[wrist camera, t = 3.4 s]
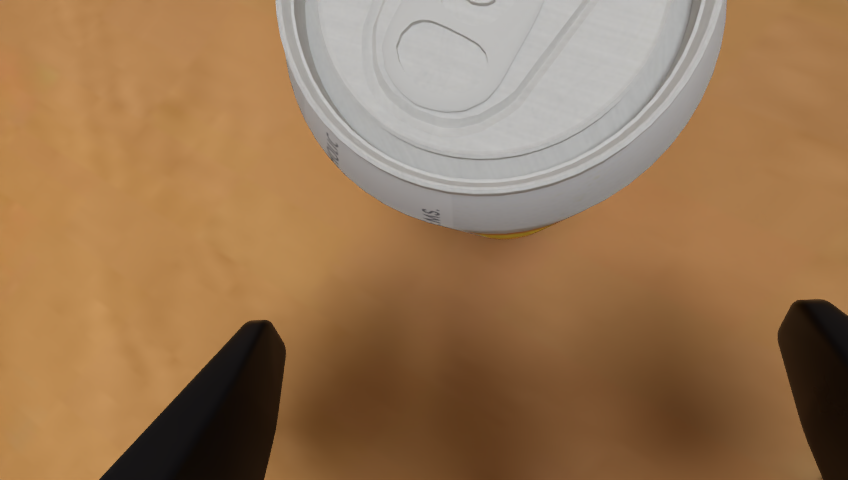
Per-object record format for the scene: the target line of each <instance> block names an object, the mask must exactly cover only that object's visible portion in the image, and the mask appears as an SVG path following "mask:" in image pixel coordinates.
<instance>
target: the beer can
mask: <svg viewBox="0 0 848 480" xmlns="http://www.w3.org/2000/svg"><path fill="white" fill-rule="evenodd" d="M726 2H727V0H276V13H277V19H278V25H279V31H280V37H281V40H282V44H283V47H284V51H285V55H286V61H287V67H288V73H289V77H290V81H291V84H292V87H293V91H294V94H295V98H296V100H297V103H298V105H299V107H300V110H301V112H302V114H303V117H304V119H305V121H306V123H307V124H308V126H309V128H310V130H311V131H312V133H313V135H314V137H315V139H316V140H317V142H318V143H319V144H320V146H321V147H322V148H323V150H324V151H325V152H326V154H327V155H328V156H329V158H330V159H331V160H332V161H333V162H334V163H335V164H336V165H337V166H338V168H339V169H340V170H341V171H342V172H343V173H344V174H345V175H346V176H347V177H348V178H350V179H351V180H352V181H353V182H354V183H355V184H357V185H358V186H359V187H360V188H361V189H363V190H364V191H365V192H367V193H368V194H370V195H371V196H373V197H374V198H376V199H378V200H379V201H381V202H382V203H384V204H385V205H387V206H390V207H392V208H394V209H396V210H398V211H400V212H402V213H404V214H406V215H408V216H411V217H414V218H417V219H420V220H423V221H425V222H428V223H432V224H436V225H440V226H444V227H448V228H452V229H456V230H459V231H463V232H467V233H471V234H475V235H479V236H483V237H488V238H494V239H514V238H520V237H524V236H528V235H531V234H533V233H536V232H538V231H541V230H543V229H545V228H547V227H549V226H551V225H554V224H556V223H558V222H560V221H562V220H564V219H567V218H569V217H571V216H573V215H575V214H577V213H580V212H582V211H584V210H586V209H588V208H590V207H592V206H594V205H596V204H598V203H600V202H602V201H604V200H606V199H607V198H609V197H610V196H612V195H613V194H615V193H616V192H618V191H619V190H621V189H622V188H624V187H626V186H627V185H629V184H630V183H631V182H632V181H633V180H635V179H636V178H637V177H638V176H640V175H641V174H642V173H643V172H644V171H646V170H647V169H648V168H649V167H650V166H651V165H652V164H653V163H654V162H655V161H656V160H657V159H658V158H659V157H660V156H661V155H662V154H663V153H664V152H665V151H666V150H667V149H668V148H669V147H670V145H671V144H672V143H673V141H674V140H675V139H676V138H677V136H678V135H679V134H680V132H681V131H682V130H683V128H684V127H685V126H686V124H687V123H688V121H689V120H690V118H691V116H692V114H693V113H694V111H695V109H696V108H697V106H698V104H699V103H700V101H701V99H702V97H703V95H704V92H705V90H706V88H707V86H708V83H709V81H710V79H711V77H712V74H713V71H714V68H715V65H716V61H717V58H718V55H719V52H720V48H721V43H722V38H723V32H724V26H725V21H726Z"/></svg>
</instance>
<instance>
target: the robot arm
mask: <svg viewBox="0 0 848 480" xmlns="http://www.w3.org/2000/svg"><path fill="white" fill-rule="evenodd" d="M778 343H779V347H780V351H781V354H782V358H783V361H784V365H785V368H786V372H787V376H788V379H789V383H790V386H791V390H792V393H793V397H794V400H795V404H796V408H797V411H798V415H799V418H800V421H801V424H802V428H803V431H804V433H805V436H806V439H807V441H808V444H809V446H810V449H811V451H812V454H813V456H814V458H815V461H816V463H817V466H818V468H819V470H820V473H821V475H822V478H823V480H848V316H847V315H846V314H845V313H843V312H842V311H841V310H839V309H838V308H837V307H835V306H834V305H833V304H831V303H830V302H828V301H825V300H821V299H813V300H797V301H795V302H794V303H793V304H792V305H791V307H790V309H789V311H788V313H787V314H786V316H785V318H784V320H783V322H782V324H781V326H780V328H779V331H778ZM285 358H286V349H285V345H284V343H283V341H282V339H281V338H280V336H279V334H278V333H277V331H276V329H275V328H274V326H273V324H272V323H271V322H270V321H268V320H254V321H249V322H247V323H245V324H244V325H243V326H242V327H241V328H240V329H239V330H238V331H237V333H236V334H235V335H234V336H233V337H232V338H231V339H230V340H229V341H228V342H227V343H226V344H225V345H224V346H223V348H222V349H221V350H220V351H219V352H218V353H217V354H216V355H215V356H214V357H213V358H212V359H211V360H210V361H209V363H208V364H207V365H206V366H205V367H204V368H203V369H202V370H201V371H200V372H199V373H198V374H197V375H196V376H195V378H194V379H193V380H192V381H191V382H190V383H189V384H188V385H187V386H186V387H185V388H184V389H183V390H182V391H181V392H180V394H179V395H178V396H177V397H176V398H175V399H174V400H173V401H172V402H171V403H170V404H169V405H168V406H167V407H166V409H165V410H164V411H163V412H162V413H161V414H160V415H159V416H158V417H157V418H156V419H155V420H154V421H153V422H152V424H151V425H150V426H149V427H148V428H147V429H146V430H145V431H144V432H143V433H142V434H141V435H140V436H139V437H138V439H137V440H136V441H135V442H134V443H133V444H132V445H131V446H130V447H129V448H128V449H127V450H126V451H125V452H124V454H123V455H122V456H121V457H120V458H119V459H118V460H117V461H116V462H115V463H114V464H113V465H112V466H111V467H110V469H109V470H108V471H107V472H106V473H105V474H104V475H103V476H102V477H101V478H100V479H99V480H264V477H265V473H266V469H267V465H268V461H269V457H270V452H271V448H272V444H273V440H274V435H275V431H276V425H277V418H278V411H279V403H280V396H281V388H282V381H283V373H284V366H285Z"/></svg>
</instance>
